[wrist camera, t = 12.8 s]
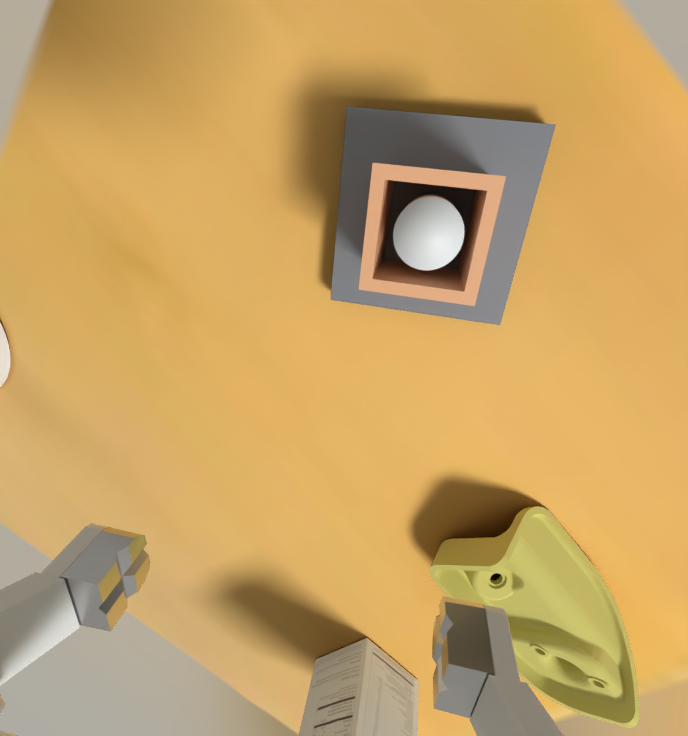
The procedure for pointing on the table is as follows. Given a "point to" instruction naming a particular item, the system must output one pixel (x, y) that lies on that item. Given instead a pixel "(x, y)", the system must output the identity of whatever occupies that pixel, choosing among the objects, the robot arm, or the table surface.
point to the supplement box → (360, 695)
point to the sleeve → (440, 281)
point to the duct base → (443, 155)
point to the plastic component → (549, 613)
